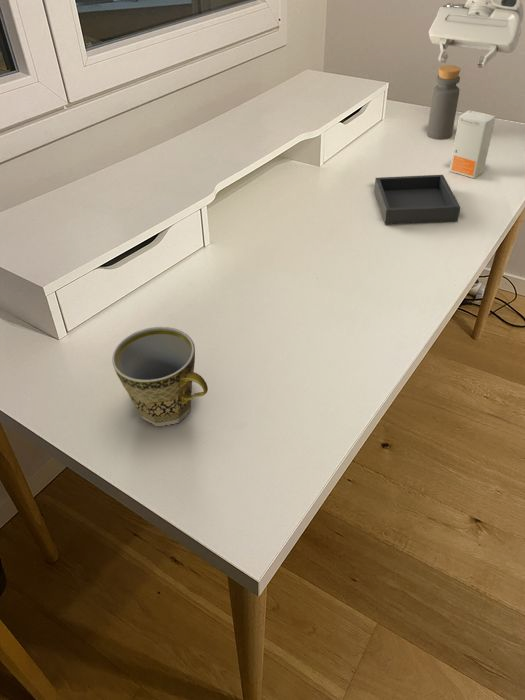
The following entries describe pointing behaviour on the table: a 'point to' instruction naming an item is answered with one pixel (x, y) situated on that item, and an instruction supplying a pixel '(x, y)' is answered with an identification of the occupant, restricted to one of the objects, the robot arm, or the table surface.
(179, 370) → the ceramic cup
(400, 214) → the tray
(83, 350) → the table surface
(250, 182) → the table surface
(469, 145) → the cosmetic box
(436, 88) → the bottle
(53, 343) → the table surface
